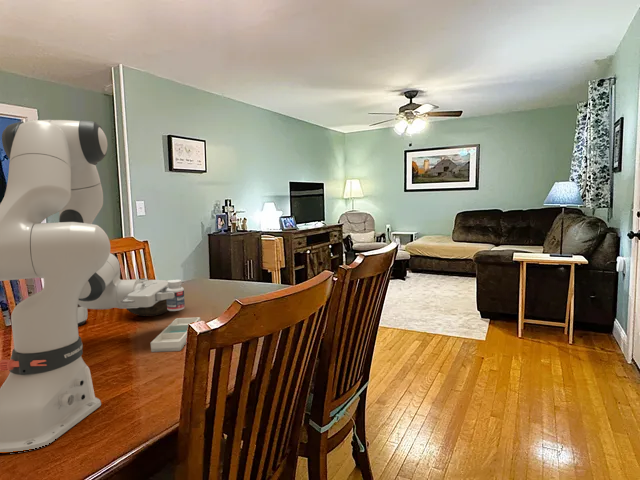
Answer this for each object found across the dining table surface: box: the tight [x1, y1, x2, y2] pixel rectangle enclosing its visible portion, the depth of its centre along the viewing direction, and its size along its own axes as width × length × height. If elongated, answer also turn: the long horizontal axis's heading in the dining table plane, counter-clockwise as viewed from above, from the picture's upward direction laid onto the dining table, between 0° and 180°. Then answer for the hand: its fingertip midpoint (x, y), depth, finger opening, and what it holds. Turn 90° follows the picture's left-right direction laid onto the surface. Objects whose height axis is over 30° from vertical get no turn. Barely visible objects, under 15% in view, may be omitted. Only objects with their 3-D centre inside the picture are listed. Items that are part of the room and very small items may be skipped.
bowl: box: [125, 299, 170, 317], centre depth 154 cm, size 22×22×10 cm
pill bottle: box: [166, 279, 186, 312], centre depth 126 cm, size 5×5×9 cm
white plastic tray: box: [150, 316, 201, 353], centre depth 127 cm, size 23×8×3 cm, turn 2°
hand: (178, 292), depth 126 cm, fingers closed on pill bottle, 5 cm apart
